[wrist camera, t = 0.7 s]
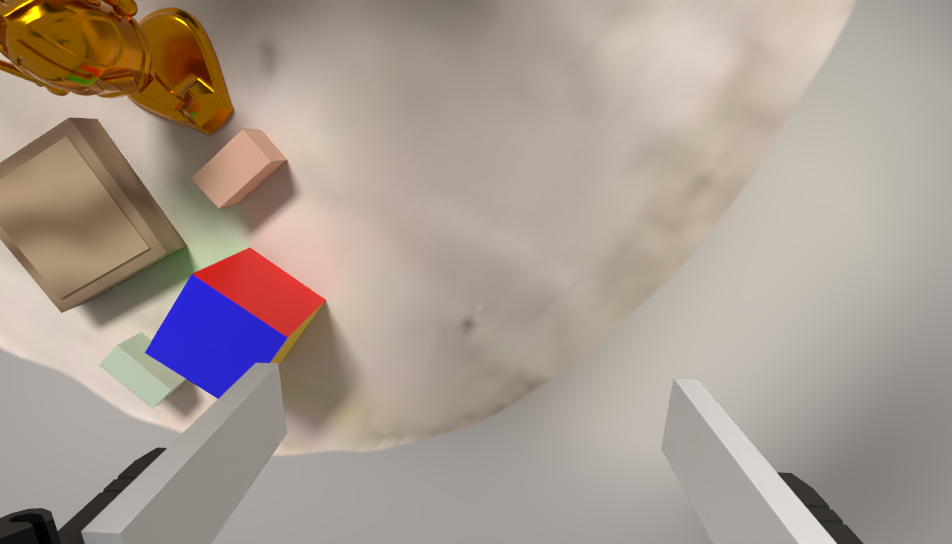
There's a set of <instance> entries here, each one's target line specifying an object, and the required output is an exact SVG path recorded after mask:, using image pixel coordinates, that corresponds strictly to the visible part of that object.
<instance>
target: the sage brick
mask: <svg viewBox="0 0 952 544" xmlns="http://www.w3.org/2000/svg"><path fill="white" fill-rule="evenodd" d="M150 343H151V340H150V339H149V338H148V337H147V336H145V335H144V334H143V333H142V332H140V333H139V334H137V335H135V336H133V337H131V338H130V339H128V340H126V341H124V342H122V343H121V344H119V345H117V346H116V347H115V348H114V349H113V350H112V351H111V353H110V354H109V355H108V356H107V357H106V358H105V359H104V360H103V361H102V362H101V363H100V364H99V366H100V367H101V368H103V369H104V370H105V371H106V372H108V373H109V374H110V375H111V376H113V377H114V378H115V379H116V380H118V381H119V382H120V383H121V384H123V385H124V386H125V387H126V388H128V389H129V390H130V391H131V392H133V393H134V394H135V395H136V396H137V397H139V398H140V399H141V400H142V401H144V402H145V403H146V404H147V405H149V406H150V407H151V408H152V409H153V408H154V407H155V406H157V405H158V404H159V403H160V402H162V401H163V400H164V399H165V398H167V397H168V396H169V395H170V394H172V393H173V392H174V391H175V390H176V389H177V388H178V387H179V386H180V385H181V384H182V383H183V382H184V381H185V380H186V378H184V377H182V376H181V375H179V374H178V373H176V372H174V371H173V370H171V369H170V368H168V367H166V366H165V365H163V364H162V363H160V362H158V361H157V360H155V359H154V358H152V357H150V356H149V355H147V354H146V353H145V351H146V350H147V348H148V346H149V345H150Z"/></svg>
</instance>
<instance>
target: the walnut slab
mask: <svg viewBox="0 0 952 544" xmlns="http://www.w3.org/2000/svg"><path fill="white" fill-rule="evenodd" d="M0 239H1V240H2V242H3V243H4V244H5V245H6V246H7V248H8V249H9V250H10V251H11V252H12V254H13V255H14V256H15V257H16V258H17V260H18V261H19V262H20V263H21V264H22V266H23V267H24V268H25V269H26V271H27V272H28V273H29V274H30V275H31V277H32V278H33V279H34V280H35V281H36V283H37V284H38V285H39V286H40V287H41V289H42V290H43V291H44V292H45V293H46V295H47V296H48V297H49V298H50V300H51V301H52V302H53V303H54V304H55V306H56V307H57V308H58V309H59V310H60V312H61V313H62V312H64V311H67V310H69V309H72V308H74V307H77V306H79V305H82V304H84V303H86V302H88V301H90V300H92V299H94V298H95V297H97V296H99V295H101V294H102V293H104V292H106V291H108V290H110V289H111V288H113V287H115V286H117V285H118V284H120V283H122V282H124V281H126V280H127V279H129V278H131V277H133V276H134V275H136V274H138V273H140V272H142V271H143V270H145V269H147V268H149V267H150V266H152V265H154V264H156V263H158V262H159V261H161V260H163V259H165V258H166V257H168V256H170V255H172V254H174V253H175V252H177V251H179V250H181V249H182V248H184V247H186V246H187V245H186V244H185V242H184V241H183V239H182V238H181V237H180V235H179V234H178V232H177V231H176V230H175V228H174V227H173V225H172V224H171V223H170V221H169V220H168V218H167V217H166V216H165V214H164V213H163V211H162V210H161V209H160V207H159V206H158V204H157V203H156V202H155V200H154V199H153V197H152V196H151V195H150V193H149V192H148V190H147V189H146V188H145V186H144V185H143V183H142V182H141V180H140V179H139V178H138V176H137V175H136V173H135V172H134V171H133V169H132V168H131V166H130V165H129V164H128V162H127V161H126V159H125V158H124V157H123V155H122V154H121V152H120V151H119V150H118V148H117V147H116V145H115V144H114V143H113V141H112V140H111V138H110V137H109V136H108V134H107V133H106V131H105V130H104V129H103V127H102V126H101V124H100V123H99V122H98V120H97V119H86V118H68V119H66V120H65V121H63V122H62V123H60V124H59V125H57V126H56V127H54V128H53V129H51V130H50V131H48V132H46V133H45V134H43V135H42V136H40V137H39V138H37V139H36V140H34V141H33V142H31V143H30V144H28V145H27V146H25V147H24V148H22V149H21V150H19V151H18V152H16V153H15V154H13V155H12V156H10V157H9V158H7V159H5V160H4V161H2V162H1V163H0Z"/></svg>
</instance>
